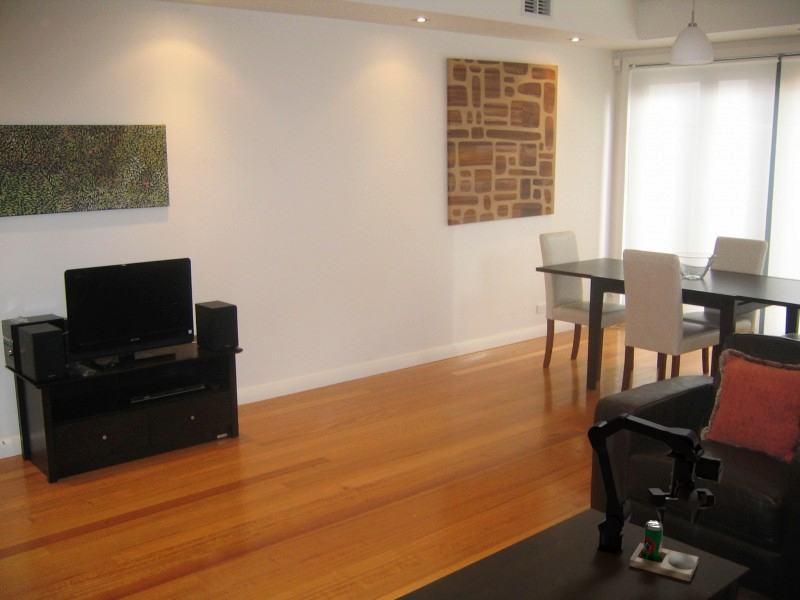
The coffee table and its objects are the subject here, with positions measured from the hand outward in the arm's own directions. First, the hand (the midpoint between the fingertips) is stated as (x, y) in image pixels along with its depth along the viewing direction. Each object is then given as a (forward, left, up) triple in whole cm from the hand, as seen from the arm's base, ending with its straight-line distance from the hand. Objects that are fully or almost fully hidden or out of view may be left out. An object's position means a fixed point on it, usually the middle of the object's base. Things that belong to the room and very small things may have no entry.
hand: (677, 524), depth 235 cm
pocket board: (-2, -1, -13) cm, 13 cm away
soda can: (-6, -1, -13) cm, 15 cm away
